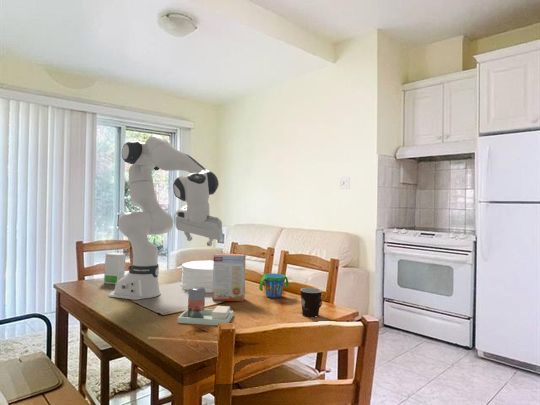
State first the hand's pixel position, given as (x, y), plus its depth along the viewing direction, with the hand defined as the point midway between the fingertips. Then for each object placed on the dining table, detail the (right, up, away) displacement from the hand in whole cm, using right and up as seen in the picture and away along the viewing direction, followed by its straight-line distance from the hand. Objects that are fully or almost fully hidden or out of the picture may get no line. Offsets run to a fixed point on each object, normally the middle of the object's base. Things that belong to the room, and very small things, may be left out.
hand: (199, 242), depth 152 cm
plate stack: (-3, -28, +41) cm, 50 cm away
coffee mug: (+46, -29, -6) cm, 54 cm away
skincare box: (-53, -26, +42) cm, 73 cm away
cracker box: (+10, -28, +15) cm, 33 cm away
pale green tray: (+6, -27, -16) cm, 32 cm away
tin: (+2, -27, -15) cm, 31 cm away
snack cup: (+31, -29, +23) cm, 48 cm away
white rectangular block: (+11, -27, -16) cm, 33 cm away
